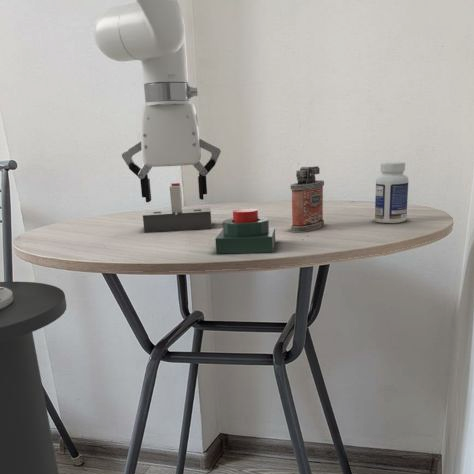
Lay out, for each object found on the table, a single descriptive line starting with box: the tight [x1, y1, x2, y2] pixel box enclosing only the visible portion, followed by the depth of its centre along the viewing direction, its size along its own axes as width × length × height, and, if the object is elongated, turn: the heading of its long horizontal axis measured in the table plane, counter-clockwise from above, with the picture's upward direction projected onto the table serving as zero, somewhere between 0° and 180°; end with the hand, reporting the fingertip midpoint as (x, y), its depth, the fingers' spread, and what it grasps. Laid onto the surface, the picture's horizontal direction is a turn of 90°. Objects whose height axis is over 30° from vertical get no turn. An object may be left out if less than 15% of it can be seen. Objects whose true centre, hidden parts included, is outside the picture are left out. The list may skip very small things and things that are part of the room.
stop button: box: [232, 208, 259, 223], centre depth 84 cm, size 4×4×2 cm
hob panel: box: [142, 207, 212, 233], centre depth 106 cm, size 9×12×3 cm
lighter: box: [290, 165, 325, 233], centre depth 98 cm, size 8×3×10 cm, turn 143°
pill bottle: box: [374, 161, 409, 224], centre depth 100 cm, size 5×5×10 cm
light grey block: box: [169, 182, 184, 213], centre depth 105 cm, size 4×2×5 cm, turn 3°
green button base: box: [215, 216, 276, 255], centre depth 85 cm, size 8×8×4 cm
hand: (175, 200), depth 105 cm, fingers open, 9 cm apart
